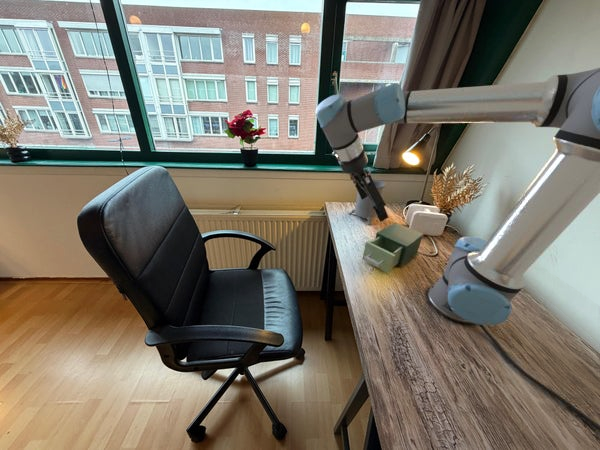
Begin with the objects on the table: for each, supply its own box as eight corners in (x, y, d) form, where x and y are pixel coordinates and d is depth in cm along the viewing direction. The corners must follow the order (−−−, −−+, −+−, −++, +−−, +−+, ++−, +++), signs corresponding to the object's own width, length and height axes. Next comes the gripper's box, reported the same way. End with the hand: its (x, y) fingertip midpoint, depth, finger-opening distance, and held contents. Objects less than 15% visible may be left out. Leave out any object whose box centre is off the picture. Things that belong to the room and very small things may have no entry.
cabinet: (400, 267, 93) (407, 246, 89) (371, 252, 101) (376, 232, 97) (416, 253, 102) (423, 234, 98) (389, 241, 110) (394, 222, 106)
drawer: (382, 278, 86) (387, 260, 82) (355, 263, 93) (359, 245, 89) (405, 259, 97) (411, 243, 93) (380, 247, 104) (384, 231, 100)
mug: (383, 225, 124) (395, 177, 112) (355, 224, 123) (364, 176, 111) (371, 209, 140) (381, 166, 128) (346, 209, 139) (353, 165, 127)
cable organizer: (434, 227, 125) (441, 206, 119) (441, 238, 116) (449, 216, 110) (403, 223, 126) (409, 203, 121) (408, 233, 117) (415, 212, 112)
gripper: (325, 147, 78) (349, 195, 90) (356, 181, 58) (381, 236, 71) (346, 134, 77) (367, 184, 89) (384, 164, 57) (405, 223, 69)
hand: (373, 207), depth 80 cm, fingers open, 13 cm apart
